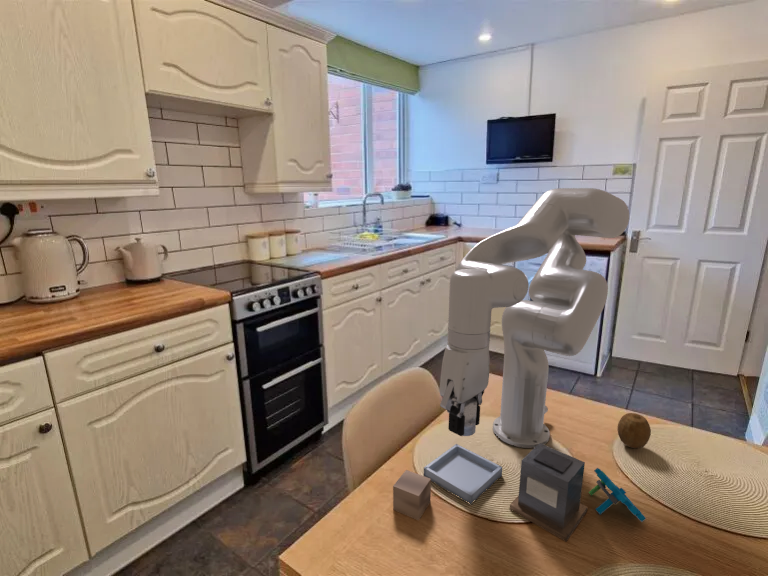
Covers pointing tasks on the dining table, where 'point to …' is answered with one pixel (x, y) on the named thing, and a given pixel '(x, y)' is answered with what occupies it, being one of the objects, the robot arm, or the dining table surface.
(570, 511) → the box with rectangular openings
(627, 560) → the dining table surface
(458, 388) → the robot arm
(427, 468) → the tray
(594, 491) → the blue green-pegged part
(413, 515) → the block
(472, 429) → the metal cylinder
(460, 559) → the dining table surface
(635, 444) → the fruit
